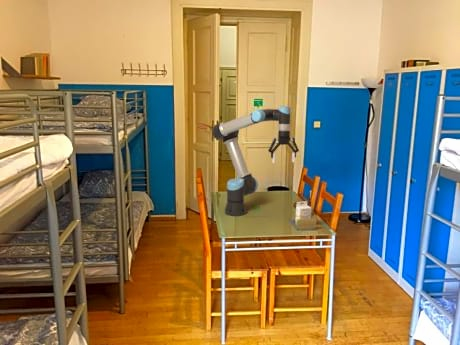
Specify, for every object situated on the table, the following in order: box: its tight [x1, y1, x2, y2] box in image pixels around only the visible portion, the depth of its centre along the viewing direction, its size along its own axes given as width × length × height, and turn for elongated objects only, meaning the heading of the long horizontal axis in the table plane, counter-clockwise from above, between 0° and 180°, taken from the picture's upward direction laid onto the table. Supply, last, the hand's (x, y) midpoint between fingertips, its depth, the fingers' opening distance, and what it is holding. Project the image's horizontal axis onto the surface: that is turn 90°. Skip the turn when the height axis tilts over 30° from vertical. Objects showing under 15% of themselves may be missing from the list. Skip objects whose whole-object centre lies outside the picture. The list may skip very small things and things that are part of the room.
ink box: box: [295, 200, 313, 225], centre depth 251 cm, size 9×5×15 cm, turn 113°
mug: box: [292, 200, 312, 210], centre depth 275 cm, size 12×8×9 cm, turn 84°
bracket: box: [288, 217, 317, 231], centre depth 253 cm, size 12×18×7 cm, turn 9°
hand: (283, 162), depth 266 cm, fingers open, 13 cm apart
